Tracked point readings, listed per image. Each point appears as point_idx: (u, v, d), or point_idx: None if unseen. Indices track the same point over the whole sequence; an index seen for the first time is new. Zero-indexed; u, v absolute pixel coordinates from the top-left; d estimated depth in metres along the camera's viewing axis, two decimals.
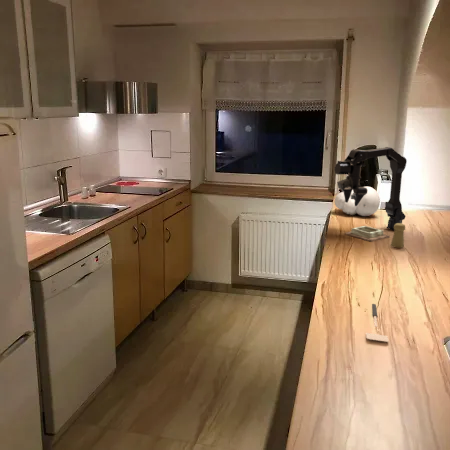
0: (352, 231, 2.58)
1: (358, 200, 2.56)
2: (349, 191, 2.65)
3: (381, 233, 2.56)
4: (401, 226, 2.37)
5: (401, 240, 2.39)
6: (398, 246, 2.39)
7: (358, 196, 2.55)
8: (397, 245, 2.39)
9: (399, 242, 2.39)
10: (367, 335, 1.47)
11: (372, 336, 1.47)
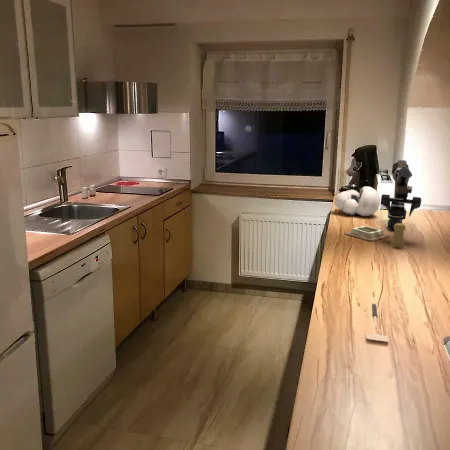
0: (352, 231, 2.58)
1: (412, 211, 2.46)
2: None
3: (381, 233, 2.56)
4: (401, 226, 2.37)
5: (401, 240, 2.39)
6: (398, 246, 2.39)
7: (412, 207, 2.47)
8: (397, 245, 2.39)
9: (399, 242, 2.39)
10: (367, 335, 1.47)
11: (372, 336, 1.47)
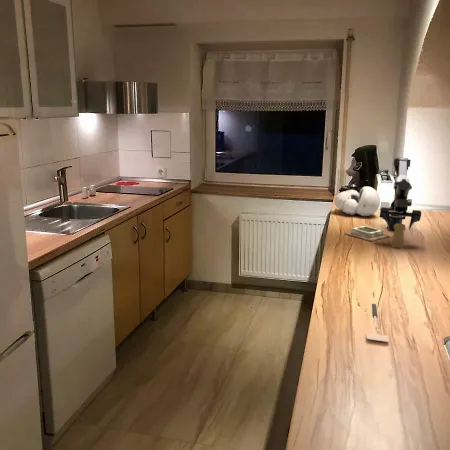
0: (352, 231, 2.58)
1: (412, 224, 2.41)
2: None
3: (381, 233, 2.56)
4: (401, 226, 2.37)
5: (401, 240, 2.39)
6: (398, 246, 2.39)
7: (412, 220, 2.41)
8: (397, 245, 2.39)
9: (399, 242, 2.39)
10: (367, 335, 1.47)
11: (372, 336, 1.47)
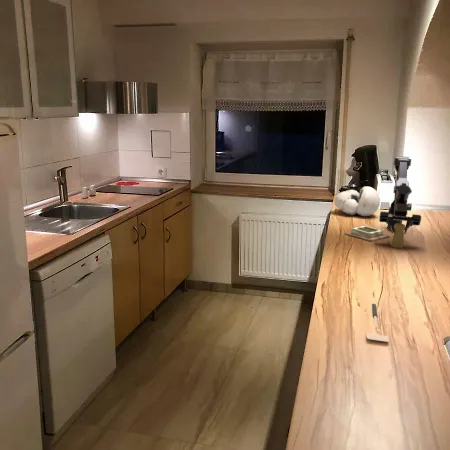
0: (352, 231, 2.58)
1: (407, 229, 2.40)
2: None
3: (381, 233, 2.56)
4: (401, 226, 2.37)
5: (401, 240, 2.39)
6: (398, 246, 2.39)
7: None
8: (397, 245, 2.39)
9: (399, 242, 2.39)
10: (367, 335, 1.47)
11: (372, 336, 1.47)
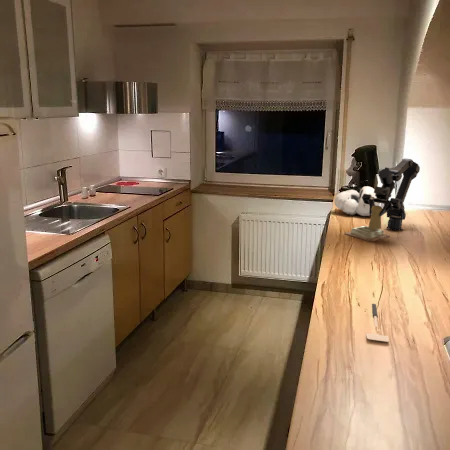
0: (352, 231, 2.58)
1: (384, 211, 2.48)
2: None
3: (381, 233, 2.56)
4: (376, 208, 2.47)
5: (376, 222, 2.48)
6: (373, 227, 2.49)
7: (386, 207, 2.48)
8: (372, 226, 2.49)
9: (374, 224, 2.49)
10: (367, 335, 1.47)
11: (372, 336, 1.47)
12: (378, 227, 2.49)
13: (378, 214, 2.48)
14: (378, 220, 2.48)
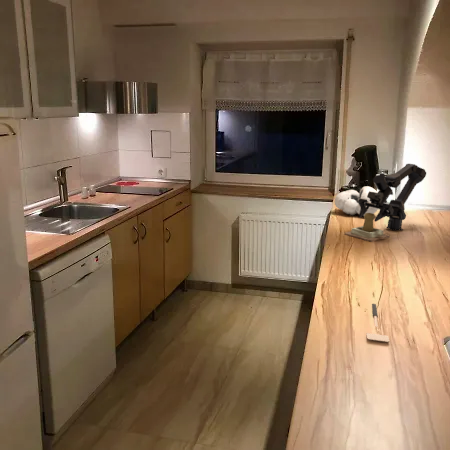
0: (352, 231, 2.58)
1: (380, 217, 2.52)
2: (365, 210, 2.61)
3: (381, 233, 2.56)
4: (368, 215, 2.54)
5: (368, 228, 2.55)
6: None
7: (382, 213, 2.52)
8: None
9: (365, 230, 2.55)
10: (368, 335, 1.47)
11: (373, 336, 1.47)
12: None
13: (370, 221, 2.54)
14: (370, 227, 2.55)
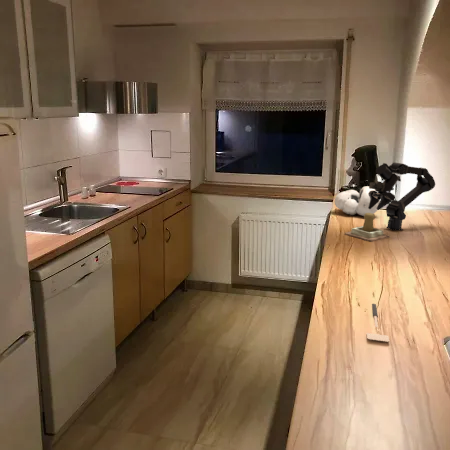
0: (352, 231, 2.58)
1: (382, 205, 2.58)
2: (376, 200, 2.68)
3: (381, 233, 2.56)
4: (368, 215, 2.54)
5: (368, 228, 2.55)
6: None
7: (384, 201, 2.58)
8: None
9: (365, 230, 2.55)
10: (368, 335, 1.47)
11: (373, 336, 1.47)
12: None
13: (370, 221, 2.54)
14: (370, 227, 2.55)
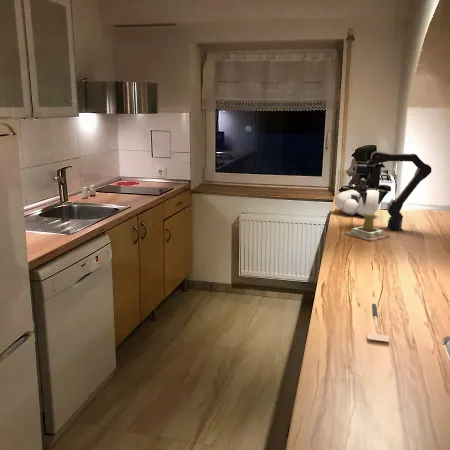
0: (352, 231, 2.58)
1: (363, 198, 2.70)
2: (382, 193, 2.72)
3: (381, 233, 2.56)
4: (368, 215, 2.54)
5: (368, 228, 2.55)
6: None
7: (363, 194, 2.70)
8: None
9: (365, 230, 2.55)
10: (368, 335, 1.47)
11: (373, 336, 1.47)
12: None
13: (370, 221, 2.54)
14: (370, 227, 2.55)
